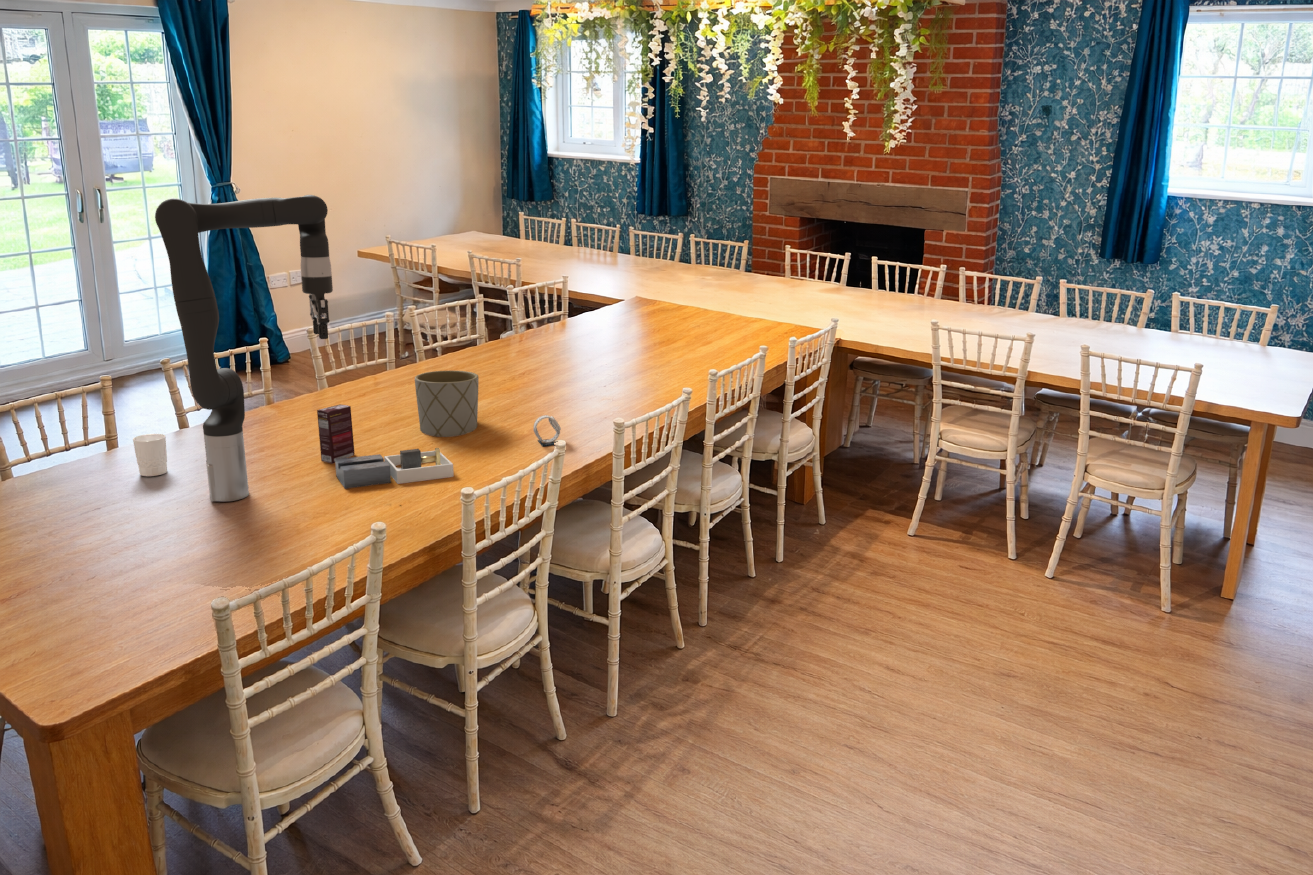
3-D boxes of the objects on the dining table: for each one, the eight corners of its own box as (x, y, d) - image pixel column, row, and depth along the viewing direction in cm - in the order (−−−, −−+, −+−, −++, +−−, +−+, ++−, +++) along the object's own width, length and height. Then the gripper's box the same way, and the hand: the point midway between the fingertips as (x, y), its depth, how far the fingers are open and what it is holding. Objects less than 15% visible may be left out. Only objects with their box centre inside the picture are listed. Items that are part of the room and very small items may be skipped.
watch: (563, 453, 297) (562, 417, 294) (537, 455, 294) (536, 419, 291) (557, 448, 302) (557, 412, 299) (531, 450, 299) (531, 415, 296)
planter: (407, 445, 302) (404, 381, 297) (431, 430, 320) (428, 369, 315) (468, 449, 299) (465, 384, 294) (488, 433, 317) (486, 371, 312)
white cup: (174, 472, 273) (170, 437, 270) (144, 479, 267) (139, 442, 265) (162, 467, 278) (158, 432, 275) (132, 472, 272) (128, 437, 270)
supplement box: (343, 457, 290) (339, 403, 285) (355, 459, 287) (351, 405, 283) (320, 464, 282) (315, 409, 278) (332, 466, 280) (328, 411, 276)
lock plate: (344, 488, 261) (343, 471, 260) (336, 476, 272) (335, 459, 270) (390, 482, 267) (389, 465, 265) (381, 470, 277) (379, 454, 276)
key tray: (397, 483, 266) (396, 470, 265) (384, 468, 279) (384, 456, 278) (453, 476, 273) (453, 464, 272) (438, 462, 286) (438, 450, 285)
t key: (437, 446, 277) (400, 450, 273) (440, 448, 275) (402, 452, 271) (438, 467, 279) (401, 471, 274) (441, 469, 277) (403, 474, 272)
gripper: (336, 276, 254) (340, 339, 259) (326, 271, 267) (330, 331, 271) (305, 277, 251) (310, 341, 255) (297, 272, 263) (301, 333, 267)
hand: (320, 336), depth 263 cm, fingers open, 8 cm apart
